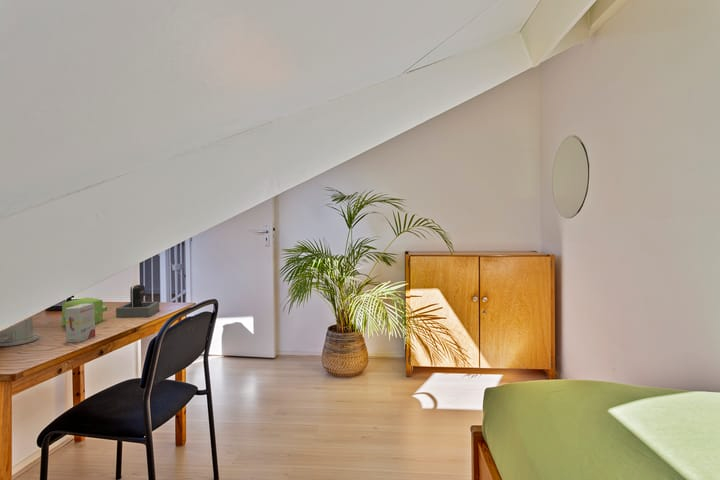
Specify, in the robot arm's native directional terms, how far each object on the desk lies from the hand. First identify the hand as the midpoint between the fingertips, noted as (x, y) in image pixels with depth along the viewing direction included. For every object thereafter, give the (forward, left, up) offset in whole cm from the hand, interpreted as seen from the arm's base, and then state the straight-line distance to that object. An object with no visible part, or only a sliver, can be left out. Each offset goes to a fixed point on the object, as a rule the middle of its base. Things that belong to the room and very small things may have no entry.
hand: (57, 247), depth 164 cm
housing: (+10, -27, -30) cm, 41 cm away
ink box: (-27, -22, -30) cm, 46 cm away
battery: (+10, -27, -29) cm, 41 cm away
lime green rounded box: (-7, -12, -31) cm, 34 cm away
